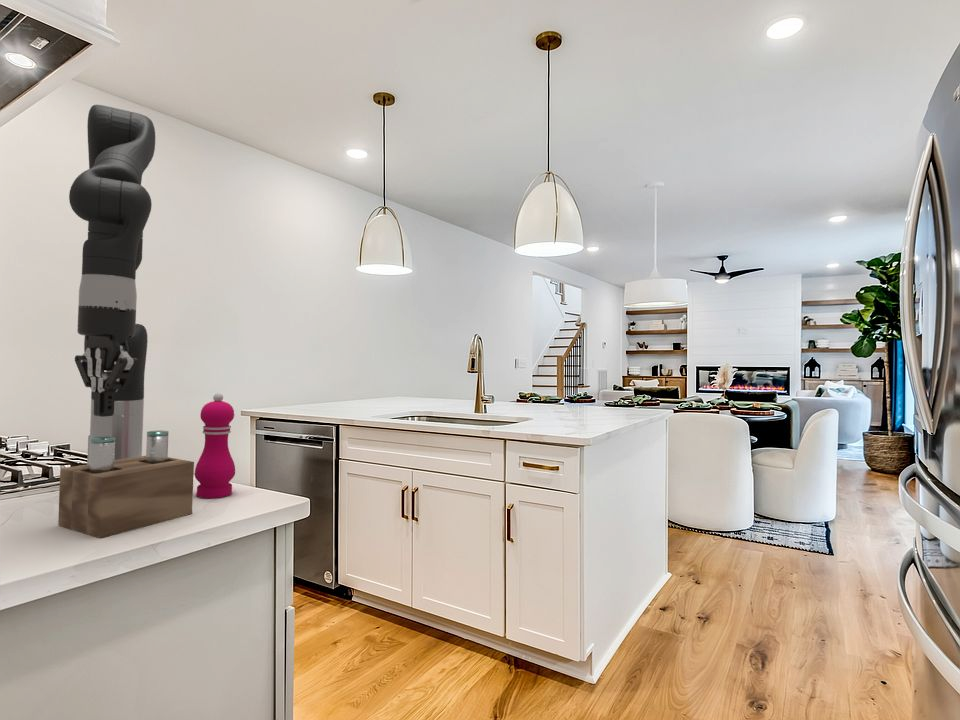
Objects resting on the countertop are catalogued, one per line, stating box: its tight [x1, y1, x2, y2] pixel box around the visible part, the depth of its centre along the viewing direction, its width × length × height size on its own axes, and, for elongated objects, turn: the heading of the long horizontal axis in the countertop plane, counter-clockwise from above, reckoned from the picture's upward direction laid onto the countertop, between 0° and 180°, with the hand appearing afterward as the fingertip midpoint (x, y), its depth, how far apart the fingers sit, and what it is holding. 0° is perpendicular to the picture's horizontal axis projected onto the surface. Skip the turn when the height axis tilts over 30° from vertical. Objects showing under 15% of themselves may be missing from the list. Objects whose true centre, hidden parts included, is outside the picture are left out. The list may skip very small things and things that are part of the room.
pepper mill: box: [194, 392, 236, 499], centre depth 107 cm, size 7×7×20 cm
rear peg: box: [145, 430, 169, 464], centre depth 94 cm, size 3×3×8 cm
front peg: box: [89, 437, 115, 474], centre depth 85 cm, size 3×3×8 cm
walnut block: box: [57, 455, 195, 539], centre depth 90 cm, size 11×15×9 cm
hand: (103, 415), depth 85 cm, fingers closed
